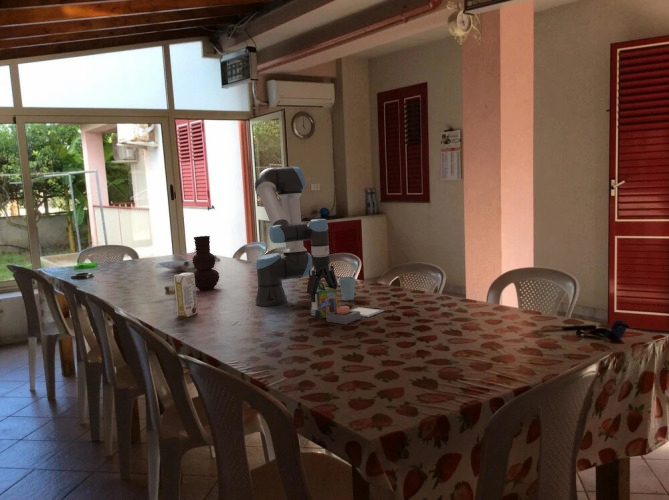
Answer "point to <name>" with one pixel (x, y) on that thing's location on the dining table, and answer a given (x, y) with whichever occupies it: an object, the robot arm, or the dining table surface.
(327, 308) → the chalk box
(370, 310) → the sketch board
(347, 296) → the cup
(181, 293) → the juice carton
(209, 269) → the vase
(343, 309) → the button
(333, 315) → the button housing
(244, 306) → the dining table surface
